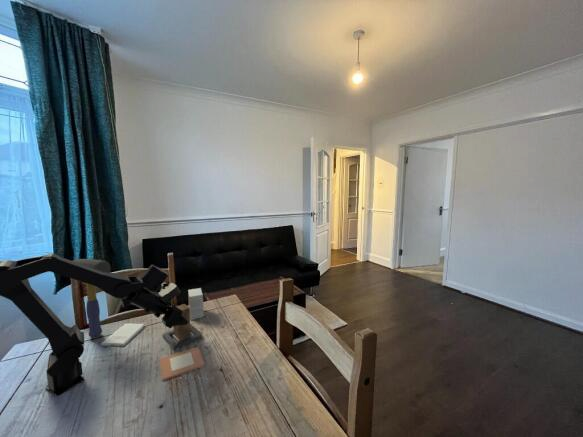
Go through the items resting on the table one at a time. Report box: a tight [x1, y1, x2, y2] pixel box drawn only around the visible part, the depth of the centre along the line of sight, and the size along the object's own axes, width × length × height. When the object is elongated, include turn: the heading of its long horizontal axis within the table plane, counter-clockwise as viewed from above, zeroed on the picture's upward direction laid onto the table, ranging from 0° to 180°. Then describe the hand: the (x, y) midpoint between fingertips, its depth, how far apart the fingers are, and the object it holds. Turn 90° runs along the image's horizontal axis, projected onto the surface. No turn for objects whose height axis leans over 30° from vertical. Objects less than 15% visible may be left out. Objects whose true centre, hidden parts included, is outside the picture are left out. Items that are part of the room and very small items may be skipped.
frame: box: [162, 323, 203, 351], centre depth 93 cm, size 10×10×2 cm
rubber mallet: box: [72, 258, 112, 339], centre depth 91 cm, size 12×8×30 cm, turn 80°
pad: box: [159, 346, 206, 382], centre depth 80 cm, size 12×10×1 cm
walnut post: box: [172, 303, 193, 343], centre depth 93 cm, size 5×5×12 cm
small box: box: [187, 287, 205, 321], centre depth 110 cm, size 8×6×10 cm
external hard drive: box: [101, 323, 146, 347], centre depth 94 cm, size 2×8×12 cm
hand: (182, 318), depth 93 cm, fingers open, 9 cm apart
